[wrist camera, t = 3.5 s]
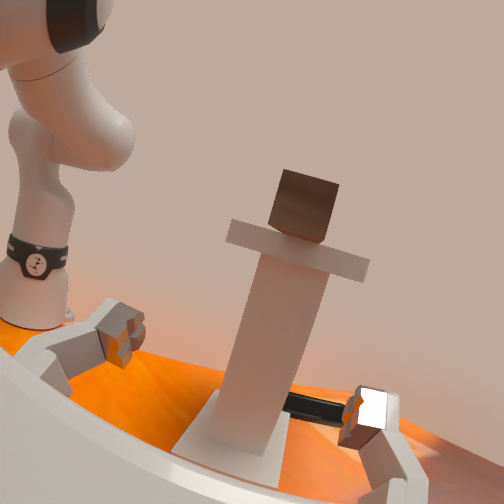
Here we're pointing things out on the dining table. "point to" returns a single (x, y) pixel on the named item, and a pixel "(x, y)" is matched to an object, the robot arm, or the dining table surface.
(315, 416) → the phone
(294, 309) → the pedestal
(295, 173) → the walnut bar
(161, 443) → the dining table surface
